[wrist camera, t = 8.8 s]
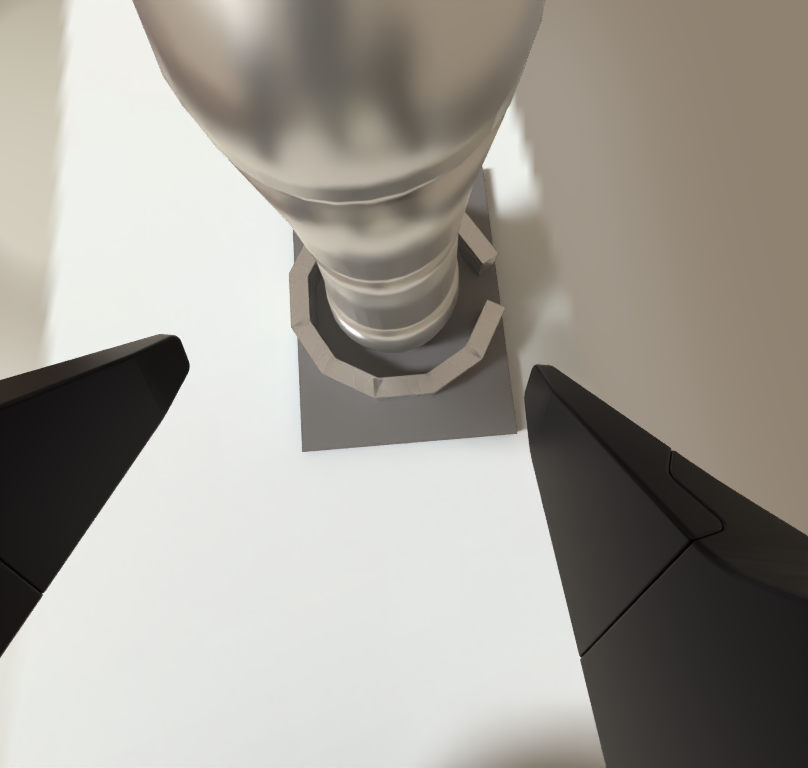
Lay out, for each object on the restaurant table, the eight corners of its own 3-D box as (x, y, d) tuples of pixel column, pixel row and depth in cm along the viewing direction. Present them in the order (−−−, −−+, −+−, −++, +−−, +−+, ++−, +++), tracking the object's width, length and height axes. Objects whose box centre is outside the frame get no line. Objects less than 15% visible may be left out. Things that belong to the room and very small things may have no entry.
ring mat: (513, 433, 20) (517, 433, 19) (305, 451, 20) (302, 452, 19) (480, 172, 22) (482, 165, 21) (294, 191, 22) (291, 185, 22)
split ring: (507, 389, 19) (515, 385, 18) (304, 407, 20) (294, 404, 18) (483, 202, 21) (488, 183, 19) (295, 220, 21) (286, 203, 20)
